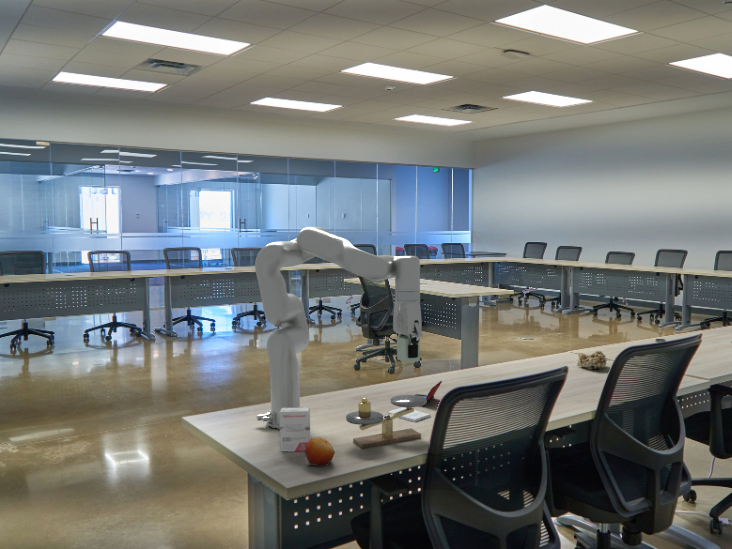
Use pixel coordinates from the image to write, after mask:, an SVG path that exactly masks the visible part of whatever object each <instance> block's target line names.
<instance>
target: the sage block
mask: <svg viewBox="0 0 732 549" xmlns="http://www.w3.org/2000/svg"><path fill="white" fill-rule="evenodd" d="M413 337H415V336H413ZM413 337H412V339H413ZM420 340H421V339H420ZM420 340H419V344H418V357H417V358H408V345H409V339H408V336H401V337H398V336H396V357H397V358H396V359H397V360H398V361H401V362H403V363H412V362H420V361H421V359H420V358H421V356H420V354H421V352H420V351H421V350H420V343H421V342H420Z"/></svg>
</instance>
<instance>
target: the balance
mask: <svg viewBox="0 0 732 549" xmlns="http://www.w3.org/2000/svg"><path fill="white" fill-rule="evenodd" d="M426 403H427V399H426V398H425V397H422V396H418V395H415V394H400V395H396V396H392V397H391V398H390V404H392V405H393V406H396V407H398V408H401V407H404V408H406V409H405V410H402V411H399V412H396V413H393V414H391V415H387V414H385V415H384V414H383V413H380V412H379V411H373V410H371V409H372V407H371V404H372V403H371V401H368V399H367V398H366V397H362V399H361V401H359V402H358V403H357V404H358V410H357V411H352V412H349V413H347V414H346V416H345V420H346V422H347V423H349V424H351V425H353V424H354V425H359V429H360V430H361V431H364V430H368V429H370V428H372V427H375V426H378V425H381V433H378V434H372V435H371V434H370V435H365V436H360V437H354V438H352V441H353V442H352V443H354V444H355V445H356V446H357V447H359V448H360V449H368V448H372V447H373V448H374V447H379V446H382V445H383V444H384V445H389V444H388V443H390V444H394V442H395V443H399V442H405V441H410V440H415V439H416V438H417V439H420V438H421V439H422V433H420V432H419V431H417V430H415V429H413V428H412V427H411V428H405V429H399V430H393V429H394V424H393V422H394V420H395V419H397V418H398V417H401V416H403V415H406V414H409V413H412V412H414V410H415V409H414V408H416V407H417V408H418V407H421V406H423V405H425V404H426ZM427 404H428V403H427ZM427 404H426V405H427ZM426 405H425V406H426Z"/></svg>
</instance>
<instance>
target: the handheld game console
mask: <svg viewBox="0 0 732 549" xmlns="http://www.w3.org/2000/svg"><path fill="white" fill-rule="evenodd" d="M442 383H443V381H442V380H440V381H439V382H438V383H437V384H435V385H434V386H433V387H431V389H430V390H429V392H428V393H427V394H420V393H416V394H414V395H418V396H422V397H425V398H426V399H427V403H426V404H425V405H423V406H424V407H426V405H427V404H428V403H429V402H431V401H432V400H433V399H432V398H434V399H435V394H436V392H437V391H438V390H439V387H440V386H441V384H442ZM430 400H431V401H430Z"/></svg>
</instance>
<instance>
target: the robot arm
mask: <svg viewBox="0 0 732 549" xmlns="http://www.w3.org/2000/svg"><path fill="white" fill-rule="evenodd" d="M315 257H316V258H319V259H322V260H324V261H327V262H329V263H332V264H334V265H337V266H338V267H340V268H342V269H344V270H345V271H347V272H349V273H352V274H354V275H356V276H358V277H361V278H364V279H367V280H370V281H373V282H381V281H384V280H385V281H386V280H389V279H394V296H395V297H394V298H395V300H394V304H393V306H394V307H393V317H392V318H393V319H392V330H393V332H394V333H396V337H401V336H408V339H409V345H408V358H417V357H418V344H419V340H421V339H422V338H423V333H422V322H423V321H422V310H421V265H420V264H421V263H420V262H421V261H420V258H419V257H418V256H416V255H400V256H396V255H390V254H382V255H375V254H372V253H369V252H367V251H365V250H361V249H359V248H358V247H355V246H354V245H353V244H352V243H351V242H350V240H349V239H347V238H344V237H341V236H338V235H335V234H333V233H330V231H329V230H327V228H324V227H321V226H307V227H304V228H302V229H301V230H299V232H298V233H297V236H296V237H295V239H292V240H290V241H289V240H287V241H284V240H281V241H274V242H270V243H268V244H266V245H265V246H263V247H262V248H261V249H259V251H258V253H257V254H256V258H255V262H254V269H255V273H256V279H257V282H258V286H259V291H260V292H259V293H260V298H261V302H262V308H263V313H264V317H265V319H266V321H267V322H268V323H269V324H270V325H273V326H279V325H281V328H278V329H276V330H274V331H272V333H271V334H270V335H269V336H268V338H267V342H266V352H267V357H268V362H269V363H268V364H269V378H270V382H269V384H270V409H268V412H266V413H264V414H263V413H261V414H257V415H256V421H257V422H260V421H262V422H263V423H264V422H266V426H267V425H268V427H269V426H270V427H269V428H271V427H272V429H275V428H277V429H278V430H280V421H279V412H280V410H281V408H301V404H300V403H301V400H300V398H301V397H300V396H301V395H300V394H301V393H300V390H301V389H300V388H301V387H300V365H299V362H298V359H297V354H299V353H302V352H303V351H304V350H305V349H306V348H307V347H308V345H309V343H310V332H309V327H308V321H307V317H306V311H305V308H304V304H303V301H302V300H301V298H299V296H297V295H296V294H293V293H288V291H287V284H286V280H285V278H284V275H283V274H282V273H281V269H283V268H289V267H296V266H299V265H301V264H303V263H305V262H307V261H309V260H311V259H313V258H315ZM413 336H415V337H413ZM412 337H413V339H412ZM277 429H276V430H277Z"/></svg>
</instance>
